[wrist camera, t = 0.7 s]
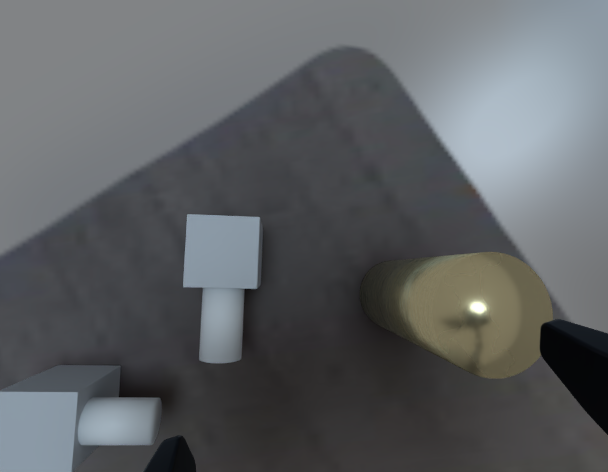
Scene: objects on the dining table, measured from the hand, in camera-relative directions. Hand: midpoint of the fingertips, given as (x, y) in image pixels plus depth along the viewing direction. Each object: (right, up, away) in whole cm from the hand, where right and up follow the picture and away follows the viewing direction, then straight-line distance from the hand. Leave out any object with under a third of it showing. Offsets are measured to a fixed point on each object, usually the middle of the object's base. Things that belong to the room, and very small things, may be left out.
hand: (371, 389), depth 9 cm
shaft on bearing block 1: (-14, -7, +16) cm, 22 cm away
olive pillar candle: (+5, -1, +18) cm, 19 cm away
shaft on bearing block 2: (-7, 0, +17) cm, 18 cm away
